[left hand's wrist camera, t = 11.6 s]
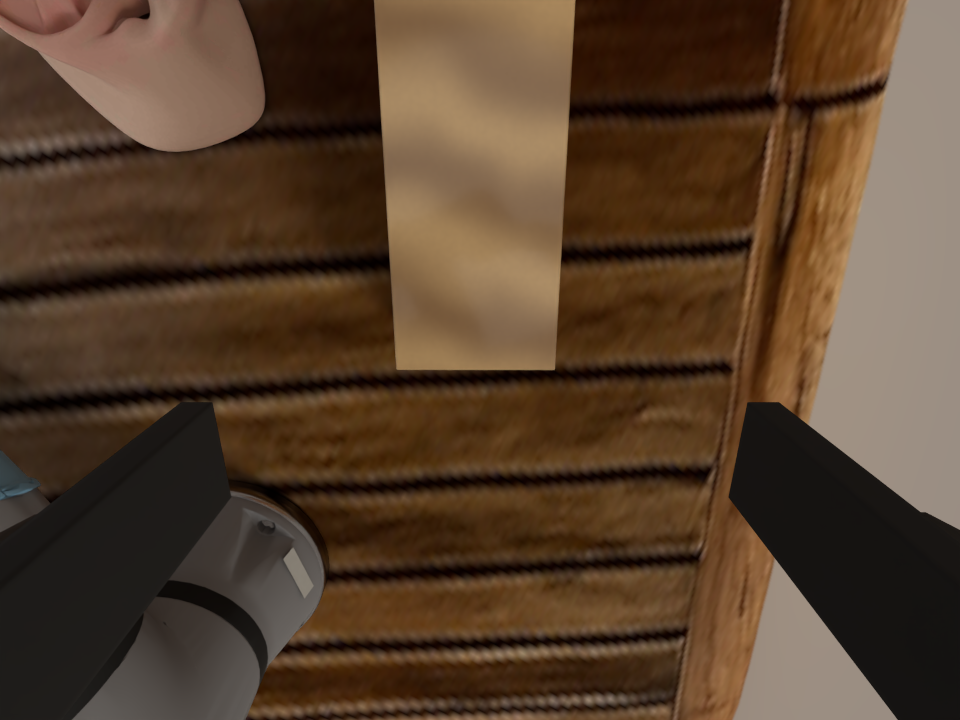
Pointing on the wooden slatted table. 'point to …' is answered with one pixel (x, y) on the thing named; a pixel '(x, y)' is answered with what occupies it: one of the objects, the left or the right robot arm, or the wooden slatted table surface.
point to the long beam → (475, 177)
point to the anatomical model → (151, 64)
